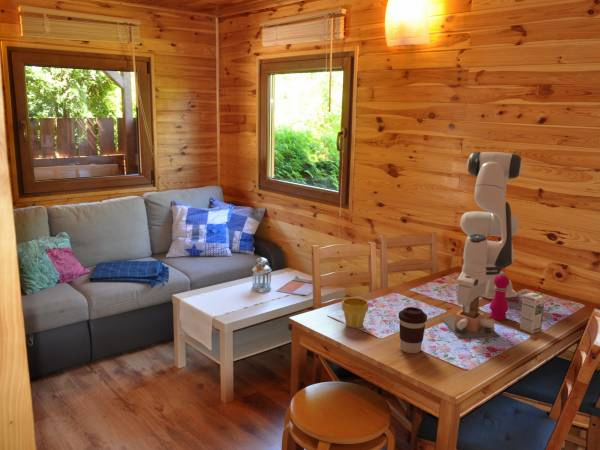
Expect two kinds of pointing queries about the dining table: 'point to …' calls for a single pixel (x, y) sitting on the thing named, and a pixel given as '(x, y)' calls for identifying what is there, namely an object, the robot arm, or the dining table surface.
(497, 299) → the pepper mill
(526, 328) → the syrup box
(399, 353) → the dining table surface
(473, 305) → the walnut coupler
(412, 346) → the coffee cup
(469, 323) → the grey base with box
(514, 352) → the dining table surface
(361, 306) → the plant pot
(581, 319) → the dining table surface
